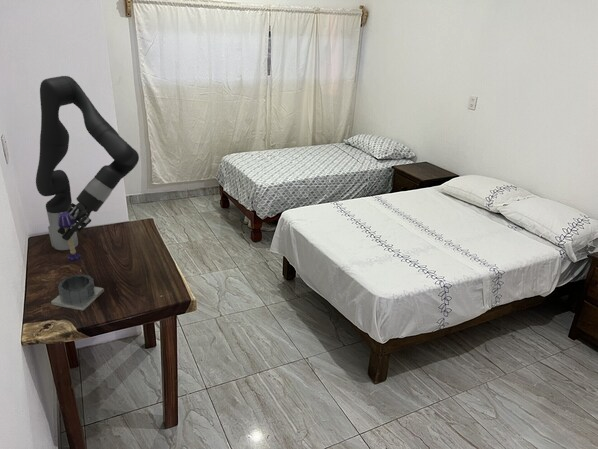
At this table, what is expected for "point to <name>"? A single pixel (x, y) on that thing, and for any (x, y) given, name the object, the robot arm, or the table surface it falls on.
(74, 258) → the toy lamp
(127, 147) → the robot arm
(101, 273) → the table surface
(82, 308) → the collar stand
